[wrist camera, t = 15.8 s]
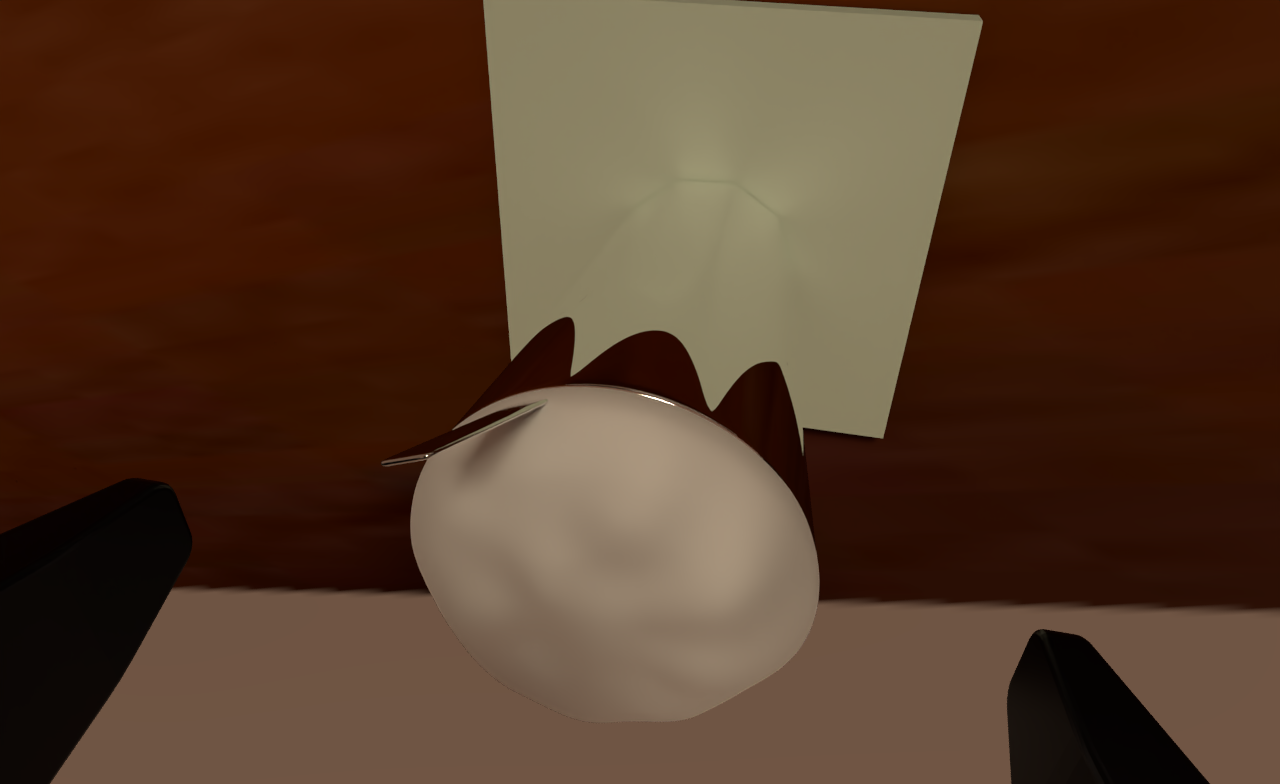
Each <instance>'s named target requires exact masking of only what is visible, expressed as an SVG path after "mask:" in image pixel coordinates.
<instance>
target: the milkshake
mask: <svg viewBox="0 0 1280 784" xmlns="http://www.w3.org/2000/svg"><path fill="white" fill-rule="evenodd" d="M426 459H428V460H427V462H426V464H425V466H424V468H423V470H422V472H421V474H420V477H419V480H418V482H417V485H416V489H415V492H414V497H413V502H412V509H411V522H410V528H411V542H412V547H413V551H414V555H415V558H416V561H417V564H418V567H419V570H420V572H421V574H422V576H423V579H424V581H425V583H426V585H427V587H428V589H429V591H430V593H431V595H432V597H433V599H434V601H435V603H436V605H437V607H438V609H439V610H440V612H441V614H442V616H443V617H444V619H445V620H446V622H447V624H448V625H449V627H450V628H451V629H452V631H453V632H454V634H455V635H456V637H457V638H458V640H459V641H460V642H461V644H462V645H463V646H464V647H465V649H466V650H467V651H468V653H469V654H470V655H471V656H472V657H473V658H474V660H475V661H476V662H477V663H478V664H479V665H480V666H481V667H482V668H483V669H484V670H485V671H486V672H487V673H489V674H490V675H491V676H492V677H493V678H495V679H496V680H497V681H499V682H500V683H501V684H503V685H504V686H506V687H507V688H509V689H511V690H513V691H515V692H517V693H519V694H521V695H523V696H525V697H527V698H529V699H531V700H532V701H535V702H537V703H539V704H541V705H543V706H545V707H547V708H549V709H551V710H554V711H555V712H558V713H560V714H563V715H565V716H567V717H570V718H573V719H576V720H580V721H584V722H591V723H613V722H631V721H632V722H636V721H637V722H639V721H640V722H672V721H681V720H686V719H690V718H692V717H695V716H698V715H700V714H702V713H704V712H706V711H708V710H711V709H713V708H714V707H716V706H718V705H720V704H722V703H724V702H726V701H727V700H729V699H731V698H733V697H735V696H736V695H738V694H740V693H741V692H743V691H745V690H746V689H748V688H750V687H752V686H754V685H755V684H757V683H759V682H761V681H762V680H764V679H766V678H767V677H769V676H771V675H772V674H774V673H775V672H777V671H778V670H779V669H781V668H782V667H783V666H784V665H785V664H786V663H787V662H789V660H790V659H792V657H793V656H794V655H795V654H796V653H797V652H798V650H799V649H800V648H801V646H802V645H803V643H804V642H805V640H806V638H807V636H808V634H809V632H810V630H811V627H812V625H813V621H814V618H815V615H816V610H817V606H818V599H819V567H818V560H817V554H816V545H815V535H814V526H813V517H812V508H811V498H810V489H809V480H808V471H807V462H806V453H805V444H804V435H803V427H802V420H801V409H800V391H799V373H798V354H797V337H796V319H795V301H794V284H793V270H792V266H791V262H790V259H789V255H788V251H787V247H786V243H785V239H784V235H783V231H782V227H781V223H780V219H779V218H778V217H777V216H776V215H775V214H773V213H772V212H771V211H769V210H768V209H767V208H766V207H764V206H763V205H762V204H761V203H759V202H758V201H757V200H755V199H754V198H753V197H752V196H750V195H749V194H748V193H747V192H745V191H744V190H743V189H742V188H740V187H739V186H738V185H737V184H735V183H720V182H701V181H684V180H678V181H677V182H675V183H674V184H672V185H671V186H669V187H668V188H666V189H665V190H663V191H661V192H660V193H658V194H657V195H655V196H654V197H652V198H651V199H649V200H648V201H646V202H645V203H643V204H642V205H640V206H638V207H637V208H635V209H634V210H633V211H632V212H631V213H630V214H629V216H628V217H627V218H626V219H625V221H624V222H623V223H622V224H621V226H620V227H619V228H618V229H617V231H616V232H615V233H614V234H613V236H612V237H611V238H610V239H609V241H608V242H607V243H606V244H605V246H604V247H603V248H602V249H601V251H600V252H599V253H598V255H597V256H596V257H595V258H594V260H593V261H592V262H591V263H590V265H589V266H588V267H587V268H586V270H585V271H584V272H583V273H582V275H581V276H580V277H579V279H578V280H577V281H576V282H575V284H574V285H573V286H572V287H571V289H570V290H569V291H568V292H567V294H566V295H565V296H564V298H563V299H562V300H561V301H560V303H559V304H558V305H557V306H556V308H555V309H554V310H553V312H552V313H551V314H550V316H549V317H548V318H547V319H546V321H545V322H544V323H543V325H542V326H541V327H540V328H539V330H538V331H537V332H536V333H535V334H534V336H533V337H532V338H531V339H530V340H529V342H528V343H527V344H526V345H525V346H524V347H523V349H522V350H521V351H520V352H519V353H518V354H517V355H516V357H515V358H514V359H513V360H512V361H511V362H510V363H509V365H508V366H507V367H506V368H505V369H504V370H503V371H502V373H501V374H500V375H499V376H498V377H497V378H496V379H495V381H494V382H493V383H492V384H491V385H490V386H489V387H488V389H487V390H486V391H485V392H484V393H483V394H482V395H481V397H480V398H479V399H478V400H477V401H476V402H475V403H474V405H473V406H472V407H471V408H470V409H469V410H468V411H467V413H466V414H465V415H464V416H463V417H462V418H461V419H460V421H459V422H458V423H457V424H456V425H455V426H454V428H453V429H452V430H451V431H449V432H447V433H444V434H442V435H440V436H437V437H435V438H433V439H430V440H428V441H426V442H423V443H421V444H419V445H417V446H414V447H412V448H410V449H407V450H405V451H403V452H400V453H398V454H396V455H393V456H391V457H389V458H387V459H385V460H383V461H382V462H381V465H382V466H392V465H398V464H404V463H410V462H416V461H422V460H426Z"/></svg>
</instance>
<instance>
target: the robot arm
mask: <svg viewBox="0 0 1280 784" xmlns="http://www.w3.org/2000/svg"><path fill="white" fill-rule="evenodd" d="M191 549H192V535H191V532H190V529H189V527H188V524H187V522H186V519H185V517H184V514H183V512H182V509H181V506H180V504H179V501H178V499H177V496H176V494H175V492H174V490H173V489H172V488H171V487H170V486H169V485H168V484H166V483H164V482H159V481H153V480H147V479H141V478H130V479H126V480H123V481H121V482H118V483H116V484H114V485H111V486H109V487H107V488H105V489H102V490H100V491H98V492H95V493H93V494H91V495H89V496H86V497H84V498H82V499H79V500H77V501H75V502H73V503H70V504H68V505H66V506H63V507H61V508H59V509H57V510H54V511H52V512H50V513H47V514H45V515H43V516H41V517H38V518H36V519H34V520H31V521H29V522H27V523H25V524H22V525H20V526H18V527H15V528H13V529H11V530H9V531H6V532H4V533H2V534H0V784H50V783H51V781H52V780H53V779H54V777H55V776H56V774H57V773H58V771H59V770H60V768H61V767H62V765H63V764H64V762H65V761H66V760H67V758H68V757H69V755H70V754H71V752H72V751H73V749H74V748H75V746H76V745H77V743H78V742H79V741H80V739H81V738H82V736H83V735H84V733H85V732H86V730H87V729H88V728H89V726H90V724H91V723H92V721H93V720H94V719H95V717H96V716H97V714H98V713H99V711H100V710H101V709H102V707H103V706H104V704H105V703H106V701H107V700H108V698H109V697H110V695H111V693H112V692H113V691H114V689H115V687H116V686H117V684H118V683H119V681H120V680H121V678H122V676H123V675H124V673H125V671H126V669H127V668H128V666H129V664H130V663H131V661H132V659H133V657H134V656H135V654H136V652H137V650H138V648H139V647H140V645H141V643H142V641H143V640H144V638H145V636H146V634H147V632H148V630H149V629H150V627H151V625H152V623H153V621H154V620H155V618H156V616H157V614H158V612H159V610H160V609H161V607H162V605H163V604H164V602H165V600H166V598H167V596H168V595H169V592H170V591H171V589H172V587H173V586H174V584H175V582H176V580H177V578H178V577H179V575H180V573H181V571H182V569H183V568H184V566H185V564H186V562H187V560H188V558H189V556H190V553H191ZM1007 715H1008V732H1009V748H1010V766H1011V783H1012V784H1210V783H1209V782H1208V781H1207V780H1206V779H1205V778H1204V776H1203V775H1202V774H1201V773H1200V772H1199V771H1198V769H1197V768H1196V767H1195V766H1194V765H1193V763H1192V762H1191V761H1190V760H1189V759H1188V758H1187V756H1186V755H1185V754H1184V753H1183V752H1182V750H1181V749H1180V748H1179V747H1178V746H1177V745H1176V743H1174V741H1173V740H1172V739H1171V738H1170V736H1169V735H1168V734H1167V733H1166V732H1165V730H1164V729H1163V728H1162V727H1161V726H1160V725H1159V723H1158V722H1157V721H1156V720H1155V719H1154V718H1153V716H1152V715H1151V714H1150V713H1149V712H1148V710H1147V709H1146V708H1145V707H1144V706H1143V705H1142V704H1141V702H1140V701H1139V700H1138V699H1137V697H1136V696H1135V695H1134V694H1133V693H1132V692H1131V690H1130V689H1129V688H1128V687H1127V686H1126V685H1125V683H1124V682H1123V681H1122V680H1121V679H1120V677H1119V676H1118V675H1117V674H1116V673H1115V672H1114V671H1113V669H1112V668H1111V667H1110V666H1109V665H1108V663H1107V662H1106V661H1105V660H1104V659H1103V657H1102V656H1101V655H1100V654H1099V653H1098V652H1097V650H1096V649H1095V648H1094V647H1093V646H1092V645H1091V644H1090V642H1088V641H1087V640H1086V639H1084V638H1083V637H1081V636H1079V635H1074V634H1069V633H1063V632H1057V631H1050V630H1044V629H1042V630H1037V631H1035V632H1034V633H1033V634H1032V636H1031V638H1030V639H1029V641H1028V643H1027V646H1026V648H1025V650H1024V652H1023V655H1022V657H1021V659H1020V661H1019V664H1018V666H1017V668H1016V670H1015V673H1014V675H1013V677H1012V679H1011V682H1010V685H1009V689H1008V697H1007Z"/></svg>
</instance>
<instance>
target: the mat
mask: <svg viewBox="0 0 1280 784" xmlns="http://www.w3.org/2000/svg"><path fill="white" fill-rule="evenodd" d="M483 3H484V16H485V29H486V42H487V54H488V67H489V80H490V93H491V106H492V119H493V132H494V145H495V157H496V170H497V183H498V196H499V209H500V222H501V235H502V247H503V260H504V273H505V286H506V299H507V312H508V325H509V337H510V350H511V361H512V360H513V359H514V358H515V357H516V355H517V354H518V353H519V352H520V351H521V350H522V349H523V347H524V346H525V345H526V344H527V343H528V342H529V340H530V339H531V338H532V337H533V336H534V334H535V333H536V332H537V331H538V330H539V328H540V327H541V326H542V325H543V323H544V322H545V321H546V319H547V318H548V317H549V316H550V314H551V313H552V312H553V310H554V309H555V308H556V306H557V305H558V304H559V303H560V301H561V300H562V299H563V298H564V296H565V295H566V294H567V292H568V291H569V290H570V289H571V287H572V286H573V285H574V284H575V282H576V281H577V280H578V279H579V277H580V276H581V275H582V273H583V272H584V271H585V270H586V268H587V267H588V266H589V265H590V263H591V262H592V261H593V260H594V258H595V257H596V256H597V255H598V253H599V252H600V251H601V249H602V248H603V247H604V246H605V244H606V243H607V242H608V241H609V239H610V238H611V237H612V236H613V234H614V233H615V232H616V231H617V229H618V228H619V227H620V226H621V224H622V223H623V222H624V221H625V219H626V218H627V217H628V216H629V214H630V213H631V212H632V211H633V210H634V209H635V208H637V207H638V206H640V205H642V204H643V203H645V202H646V201H648V200H649V199H651V198H652V197H654V196H655V195H657V194H658V193H660V192H661V191H663V190H665V189H666V188H668V187H669V186H671V185H672V184H674V183H675V182H677V181H678V180H684V181H701V182H720V183H735V184H737V185H738V186H739V187H740V188H742V189H743V190H744V191H745V192H747V193H748V194H749V195H750V196H752V197H753V198H754V199H755V200H757V201H758V202H759V203H761V204H762V205H763V206H764V207H766V208H767V209H768V210H769V211H771V212H772V213H773V214H775V215H776V216H777V217H778V218H779V219H780V223H781V227H782V231H783V235H784V239H785V243H786V247H787V251H788V255H789V259H790V262H791V266H792V270H793V284H794V301H795V319H796V337H797V354H798V373H799V391H800V409H801V420H802V427H804V428H811V429H818V430H825V431H833V432H840V433H847V434H854V435H862V436H869V437H876V438H883V436H884V432H885V428H886V423H887V419H888V415H889V411H890V407H891V403H892V398H893V394H894V390H895V386H896V382H897V378H898V373H899V369H900V365H901V361H902V357H903V353H904V348H905V344H906V340H907V336H908V332H909V328H910V323H911V319H912V315H913V311H914V307H915V303H916V298H917V294H918V290H919V286H920V282H921V278H922V273H923V269H924V265H925V261H926V257H927V252H928V248H929V244H930V240H931V236H932V232H933V227H934V223H935V219H936V215H937V211H938V207H939V202H940V198H941V194H942V190H943V186H944V182H945V177H946V173H947V169H948V165H949V161H950V157H951V152H952V148H953V144H954V140H955V136H956V132H957V127H958V123H959V119H960V115H961V111H962V107H963V102H964V98H965V94H966V90H967V86H968V82H969V77H970V73H971V69H972V65H973V61H974V57H975V52H976V48H977V44H978V40H979V36H980V32H981V27H982V23H983V20H982V19H981V18H980V16H979V15H968V14H952V13H935V12H918V11H902V10H885V9H868V8H852V7H835V6H818V5H802V4H785V3H768V2H752V1H735V0H483Z"/></svg>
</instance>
